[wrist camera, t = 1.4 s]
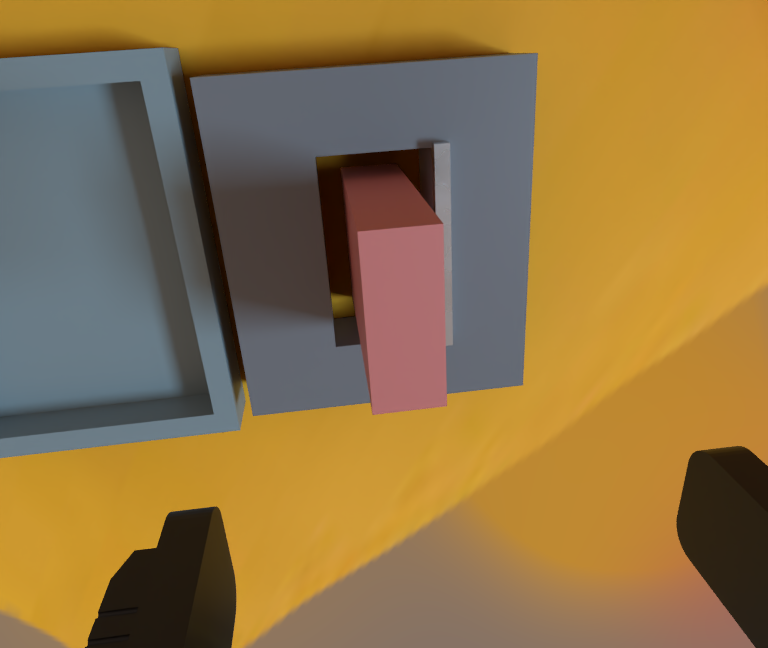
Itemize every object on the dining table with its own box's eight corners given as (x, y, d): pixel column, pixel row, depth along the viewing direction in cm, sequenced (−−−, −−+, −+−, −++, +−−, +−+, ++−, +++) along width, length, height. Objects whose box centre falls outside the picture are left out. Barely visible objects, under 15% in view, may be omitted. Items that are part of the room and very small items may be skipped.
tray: (177, 48, 23) (163, 47, 20) (245, 401, 29) (239, 430, 27) (-183, 72, 22) (-241, 74, 19) (-27, 431, 28) (-56, 464, 26)
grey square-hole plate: (512, 53, 24) (543, 53, 21) (503, 355, 30) (527, 391, 27) (204, 75, 23) (186, 78, 20) (258, 382, 29) (251, 423, 26)
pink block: (396, 163, 25) (443, 223, 16) (402, 292, 28) (446, 405, 19) (340, 167, 25) (357, 231, 16) (352, 296, 28) (372, 414, 19)
